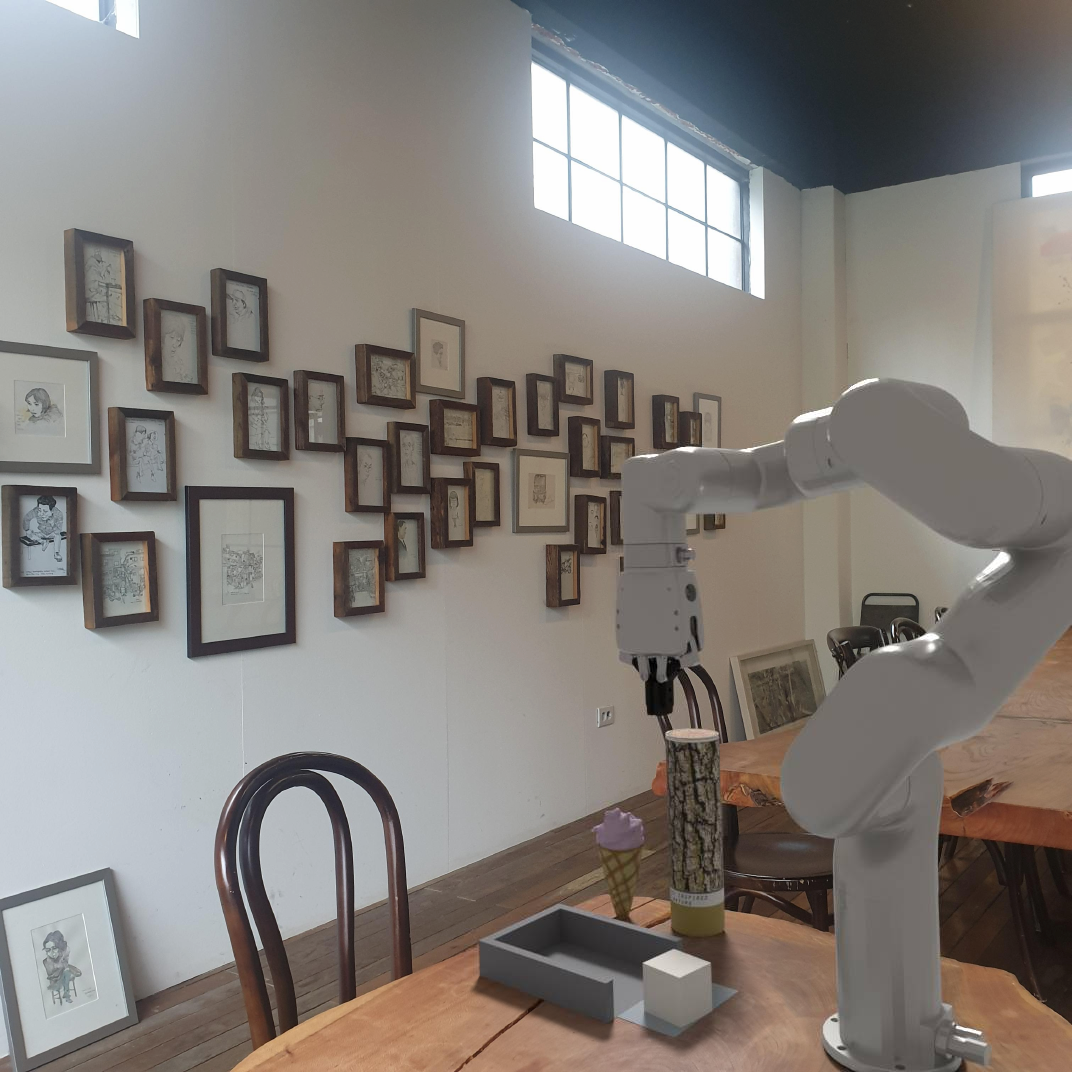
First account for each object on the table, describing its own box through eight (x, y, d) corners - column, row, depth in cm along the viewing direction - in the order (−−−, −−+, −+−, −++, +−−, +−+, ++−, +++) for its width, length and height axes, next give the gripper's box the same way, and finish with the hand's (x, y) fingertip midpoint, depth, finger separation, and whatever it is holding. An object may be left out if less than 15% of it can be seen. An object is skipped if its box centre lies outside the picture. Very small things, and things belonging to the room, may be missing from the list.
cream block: (712, 1011, 101) (710, 962, 101) (681, 1027, 97) (679, 977, 97) (675, 995, 104) (673, 948, 104) (644, 1011, 101) (642, 963, 101)
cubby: (738, 995, 105) (737, 953, 105) (665, 1049, 94) (663, 1002, 94) (560, 939, 122) (559, 903, 122) (479, 979, 111) (478, 940, 111)
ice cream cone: (590, 926, 126) (586, 810, 126) (601, 909, 131) (597, 798, 132) (641, 930, 124) (637, 812, 124) (649, 913, 130) (646, 800, 130)
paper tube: (725, 942, 119) (718, 738, 120) (669, 939, 121) (663, 738, 121) (725, 921, 126) (719, 728, 126) (672, 919, 127) (666, 728, 128)
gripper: (726, 557, 113) (731, 715, 113) (622, 559, 123) (627, 704, 123) (692, 559, 107) (697, 725, 107) (586, 561, 117) (590, 713, 117)
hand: (660, 713), depth 115 cm, fingers closed
